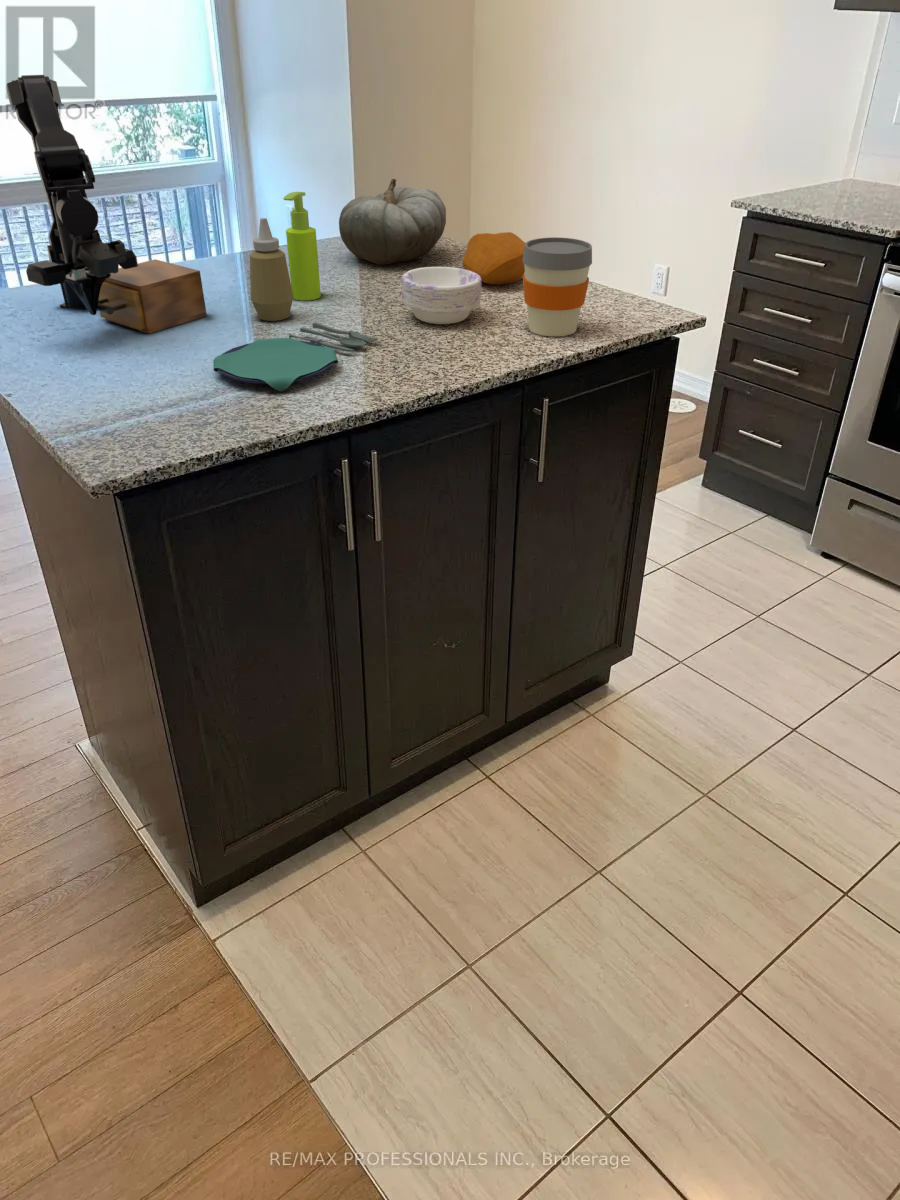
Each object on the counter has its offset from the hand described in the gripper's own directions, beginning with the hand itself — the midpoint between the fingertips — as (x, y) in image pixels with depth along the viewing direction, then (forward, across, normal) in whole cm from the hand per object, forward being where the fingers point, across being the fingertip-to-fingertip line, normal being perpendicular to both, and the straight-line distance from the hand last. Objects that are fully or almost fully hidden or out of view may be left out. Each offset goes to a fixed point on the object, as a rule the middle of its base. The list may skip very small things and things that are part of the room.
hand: (93, 314), depth 163 cm
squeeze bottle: (+3, +28, -18) cm, 33 cm away
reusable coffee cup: (+3, +55, -64) cm, 84 cm away
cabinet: (+4, +13, 0) cm, 14 cm away
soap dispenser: (+3, +41, -13) cm, 43 cm away
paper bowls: (+3, +48, -43) cm, 64 cm away
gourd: (+2, +76, -6) cm, 76 cm away
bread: (+2, +76, -35) cm, 83 cm away
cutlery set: (+4, +13, -39) cm, 41 cm away
